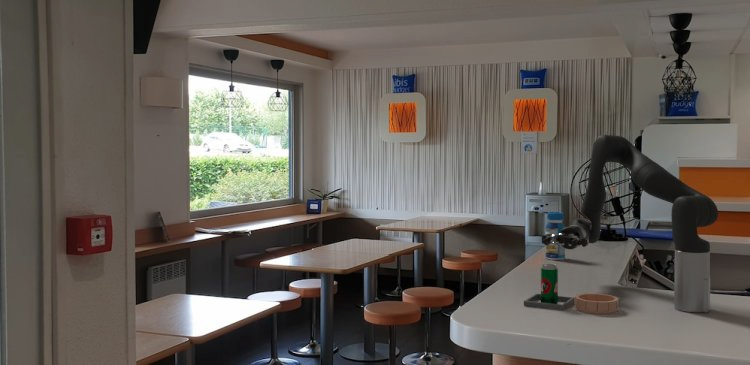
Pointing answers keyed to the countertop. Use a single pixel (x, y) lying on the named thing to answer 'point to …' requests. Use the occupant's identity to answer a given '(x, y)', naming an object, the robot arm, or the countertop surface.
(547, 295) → the soda can
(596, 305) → the bowl
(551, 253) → the beverage bottle
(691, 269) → the robot arm
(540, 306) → the tray
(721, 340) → the countertop surface
